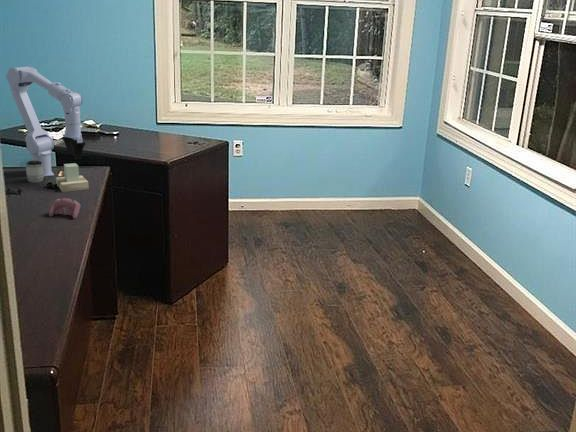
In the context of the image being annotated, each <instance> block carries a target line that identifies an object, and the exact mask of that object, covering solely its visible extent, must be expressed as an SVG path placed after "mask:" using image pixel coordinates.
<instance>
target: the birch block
mask: <svg viewBox="0 0 576 432" xmlns="http://www.w3.org/2000/svg"><path fill="white" fill-rule="evenodd" d="M55 181H56V183H55V184H57V185H56V186H57V187H58V188H59V189H60V191H61V192H62V193H66V192H76V191H85V190H86V191H87V190H90V188H89V187H90V186H89V181H88V180H87V179H86V178H85V177H84V176H83V175H82V174H81V175H80V174H79V181H72V182H67V181H66V180H65V178H64V176H57V177H55Z"/></svg>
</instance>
